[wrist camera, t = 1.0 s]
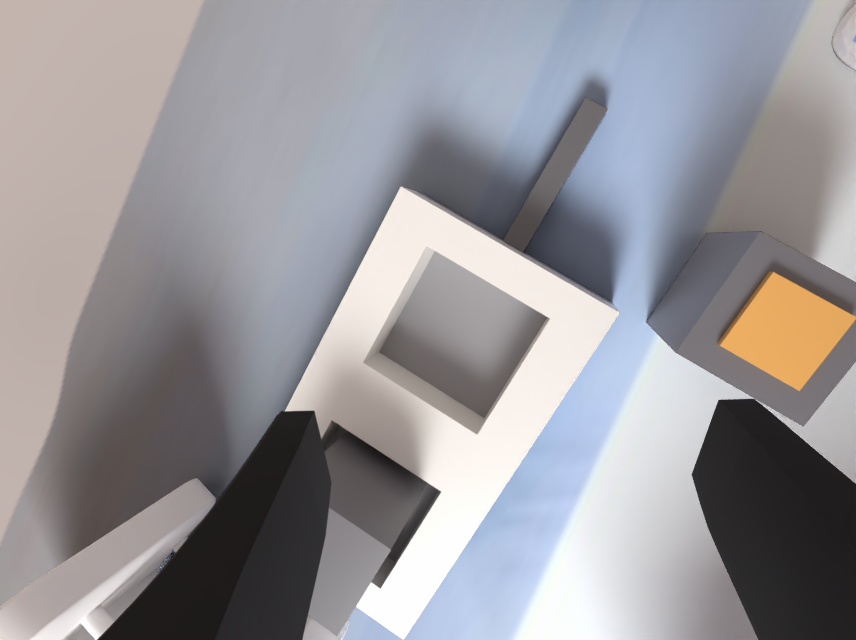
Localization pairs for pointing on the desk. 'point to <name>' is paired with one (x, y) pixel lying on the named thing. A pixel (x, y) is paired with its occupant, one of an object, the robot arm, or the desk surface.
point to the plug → (762, 320)
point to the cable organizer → (113, 575)
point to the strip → (438, 389)
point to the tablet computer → (846, 39)
